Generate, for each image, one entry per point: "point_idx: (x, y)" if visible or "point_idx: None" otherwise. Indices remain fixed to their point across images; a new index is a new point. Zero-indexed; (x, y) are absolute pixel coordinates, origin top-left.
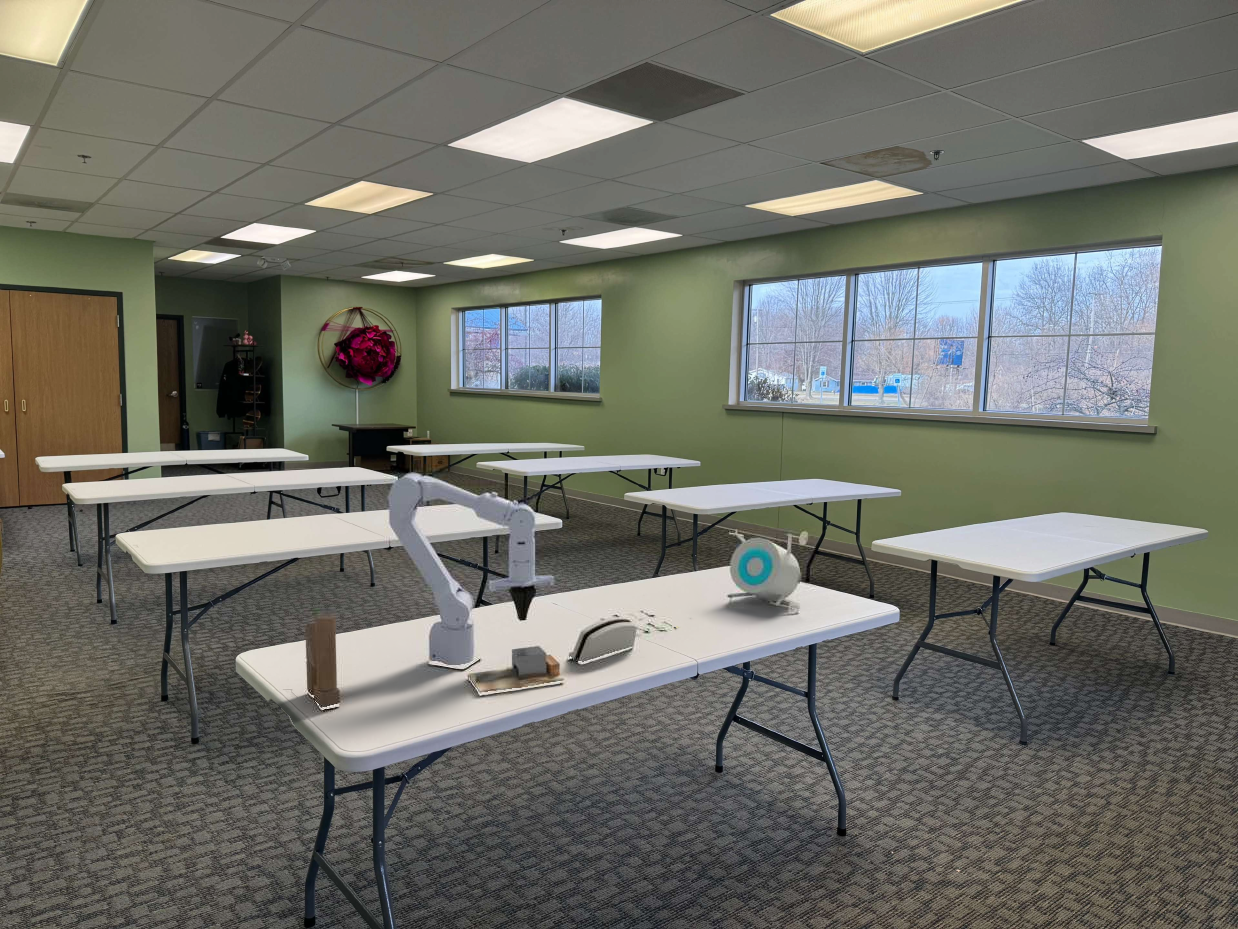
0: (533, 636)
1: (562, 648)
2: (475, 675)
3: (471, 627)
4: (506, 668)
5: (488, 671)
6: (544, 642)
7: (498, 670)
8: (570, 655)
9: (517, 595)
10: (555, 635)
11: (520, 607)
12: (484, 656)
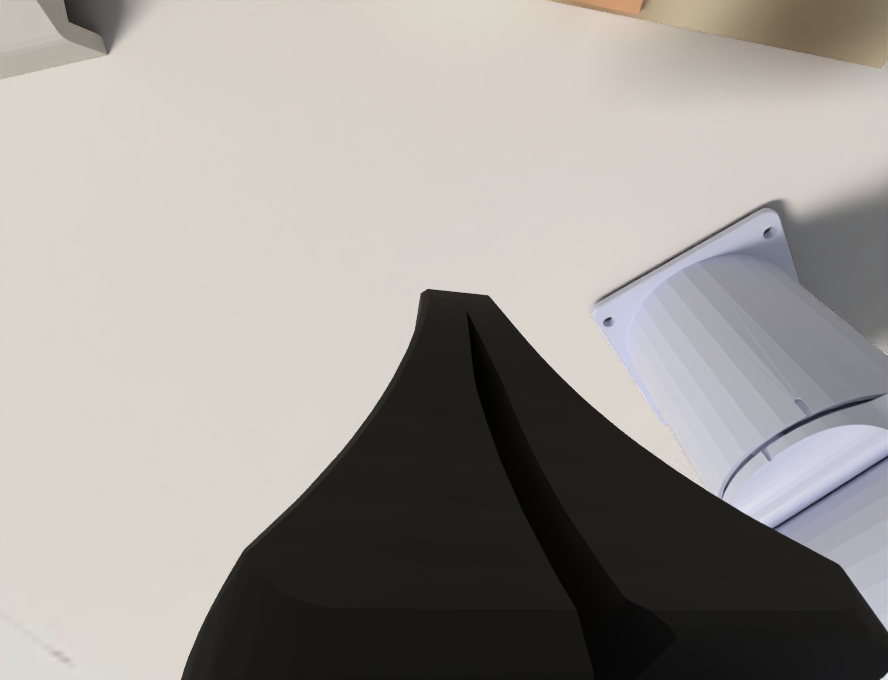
0: (231, 454)
1: (110, 262)
2: (879, 4)
3: (800, 410)
4: (635, 17)
5: (763, 32)
6: (197, 377)
7: (704, 8)
8: (65, 13)
9: (788, 570)
10: (116, 431)
11: (551, 384)
12: (550, 338)
